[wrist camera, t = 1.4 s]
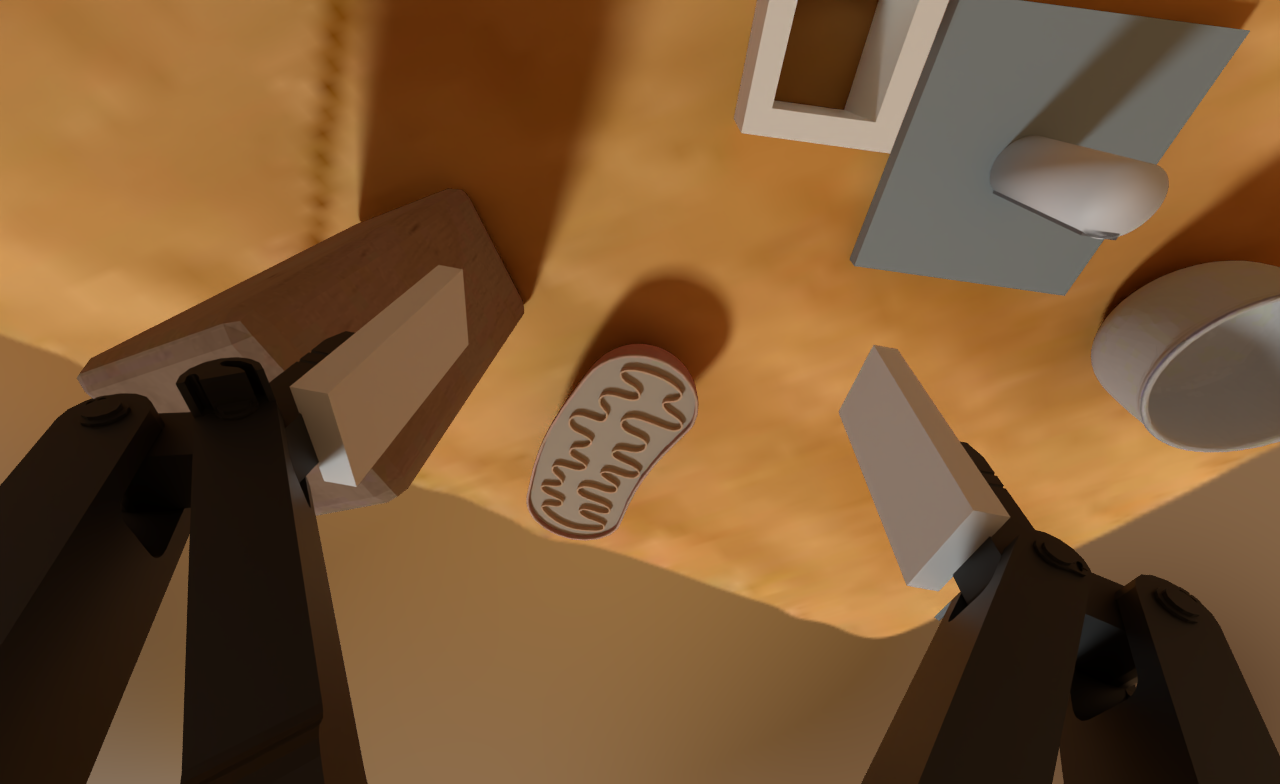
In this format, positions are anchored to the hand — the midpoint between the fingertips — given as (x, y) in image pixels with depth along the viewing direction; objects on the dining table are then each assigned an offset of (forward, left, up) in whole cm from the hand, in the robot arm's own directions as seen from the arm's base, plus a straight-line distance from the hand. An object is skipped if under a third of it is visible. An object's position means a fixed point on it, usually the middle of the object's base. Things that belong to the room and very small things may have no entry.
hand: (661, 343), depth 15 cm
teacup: (+3, +35, -20) cm, 40 cm away
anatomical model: (+21, -3, -20) cm, 29 cm away
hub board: (-4, +19, -20) cm, 28 cm away
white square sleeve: (-8, +6, -20) cm, 22 cm away
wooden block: (+8, -17, -20) cm, 27 cm away
